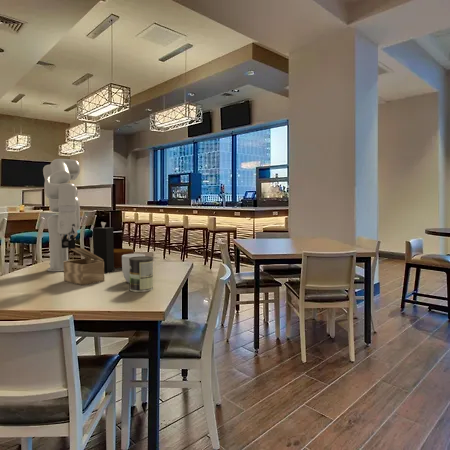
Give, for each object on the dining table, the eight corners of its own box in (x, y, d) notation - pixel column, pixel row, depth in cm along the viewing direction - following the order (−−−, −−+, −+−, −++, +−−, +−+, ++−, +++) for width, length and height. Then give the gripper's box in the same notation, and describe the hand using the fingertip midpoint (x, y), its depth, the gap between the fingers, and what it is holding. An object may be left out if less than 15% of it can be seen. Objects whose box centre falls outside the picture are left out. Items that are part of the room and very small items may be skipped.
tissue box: (107, 273, 195) (106, 222, 193) (93, 272, 196) (92, 222, 195) (114, 270, 203) (113, 221, 201) (101, 270, 204) (100, 221, 203)
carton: (64, 280, 176) (63, 261, 175) (86, 277, 185) (85, 258, 185) (81, 285, 166) (81, 264, 166) (104, 281, 176) (104, 261, 175)
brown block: (140, 266, 218) (140, 249, 218) (117, 270, 204) (117, 253, 203) (120, 263, 228) (120, 247, 227) (97, 267, 213) (97, 251, 212)
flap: (56, 243, 172) (58, 240, 173) (85, 259, 184) (87, 255, 185) (73, 245, 163) (75, 242, 163) (102, 261, 175) (104, 258, 176)
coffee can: (127, 292, 153) (127, 259, 152) (131, 286, 163) (131, 256, 163) (151, 291, 154) (151, 259, 153) (154, 286, 164) (154, 256, 163)
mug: (150, 277, 184) (149, 252, 183) (155, 282, 174) (155, 255, 173) (120, 280, 177) (119, 254, 176) (124, 285, 167) (123, 257, 166)
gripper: (50, 209, 170) (51, 247, 171) (69, 210, 160) (70, 250, 161) (65, 209, 176) (66, 246, 177) (84, 209, 165) (85, 248, 166)
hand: (68, 247), depth 169 cm, fingers closed on flap, 5 cm apart
